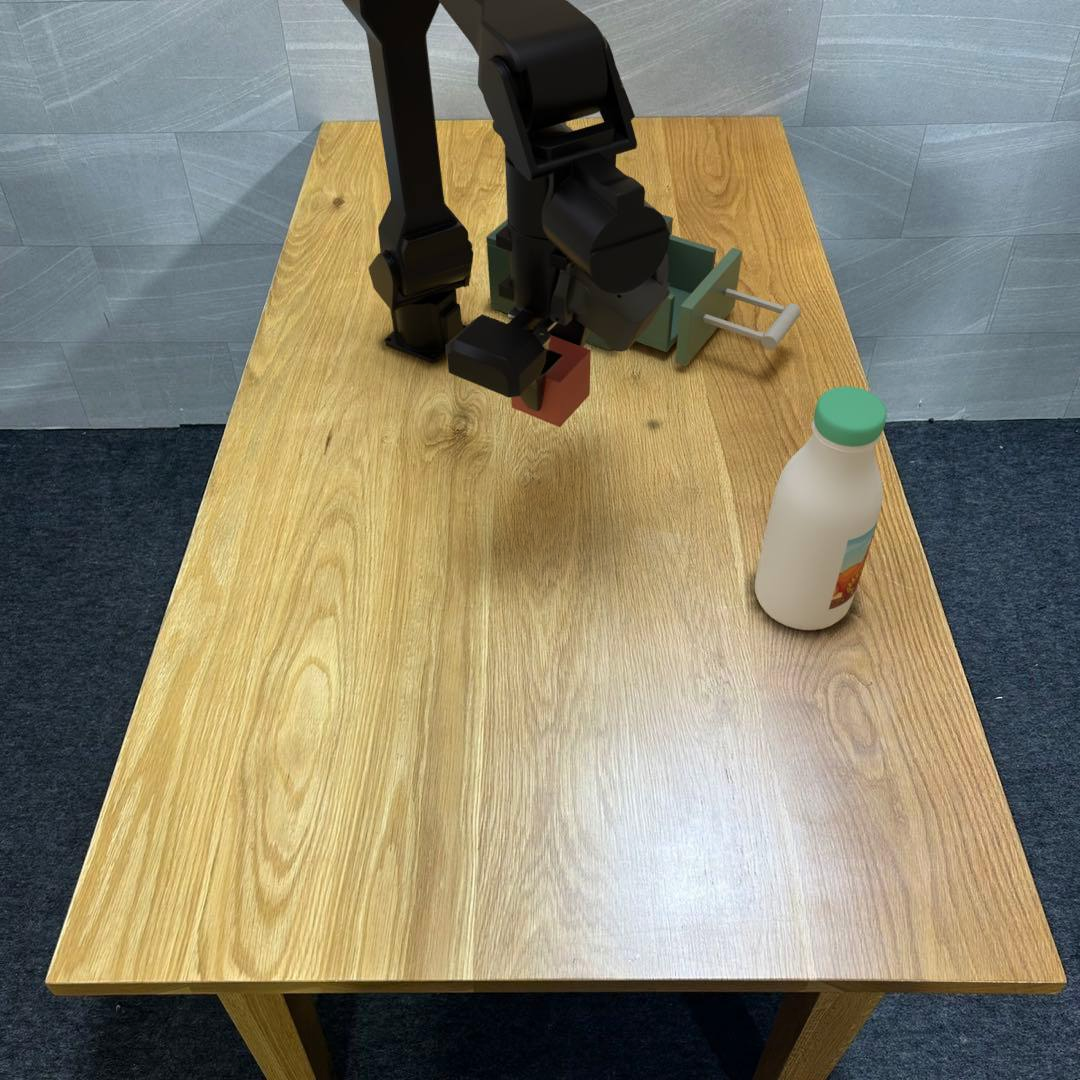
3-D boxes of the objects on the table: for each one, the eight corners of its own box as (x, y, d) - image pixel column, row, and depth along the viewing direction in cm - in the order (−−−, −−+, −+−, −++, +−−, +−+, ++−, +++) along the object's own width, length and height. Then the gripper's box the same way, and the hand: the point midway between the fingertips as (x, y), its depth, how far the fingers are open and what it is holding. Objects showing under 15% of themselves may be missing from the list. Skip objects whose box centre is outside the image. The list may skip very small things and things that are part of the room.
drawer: (805, 330, 105) (817, 272, 100) (759, 393, 99) (769, 335, 94) (621, 270, 113) (623, 214, 108) (567, 324, 106) (567, 267, 101)
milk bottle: (791, 648, 80) (843, 460, 65) (734, 580, 84) (770, 390, 70) (870, 610, 82) (938, 421, 67) (810, 546, 87) (861, 356, 72)
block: (511, 407, 83) (509, 362, 79) (542, 376, 85) (541, 330, 82) (560, 428, 81) (560, 382, 78) (589, 395, 84) (591, 349, 80)
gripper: (579, 325, 63) (576, 502, 74) (715, 187, 73) (693, 361, 85) (431, 270, 67) (450, 446, 79) (580, 147, 77) (577, 319, 89)
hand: (550, 391), depth 83 cm, fingers closed on block, 4 cm apart
